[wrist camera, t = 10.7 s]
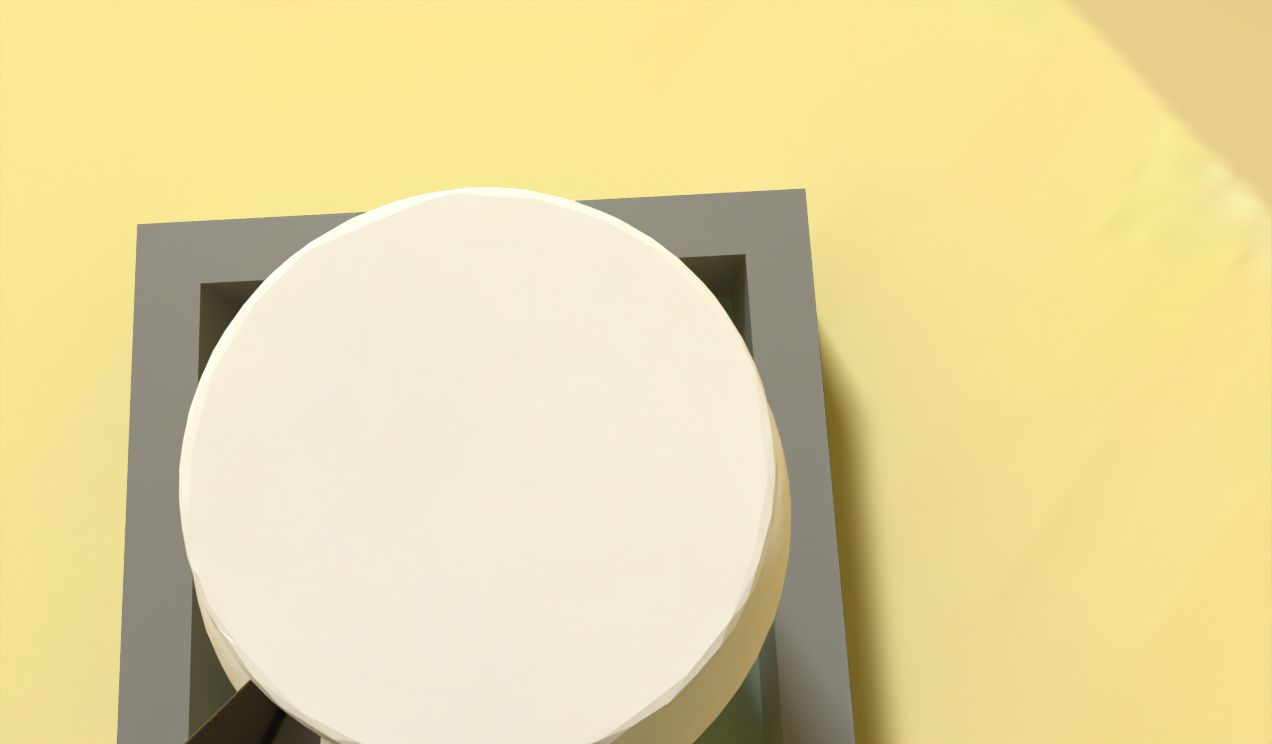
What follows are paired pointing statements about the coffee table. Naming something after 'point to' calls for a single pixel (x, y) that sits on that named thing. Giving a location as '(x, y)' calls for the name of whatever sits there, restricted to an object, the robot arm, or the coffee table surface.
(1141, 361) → the coffee table surface
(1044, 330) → the coffee table surface
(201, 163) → the coffee table surface
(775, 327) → the grey tray
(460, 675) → the supplement bottle
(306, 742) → the robot arm
